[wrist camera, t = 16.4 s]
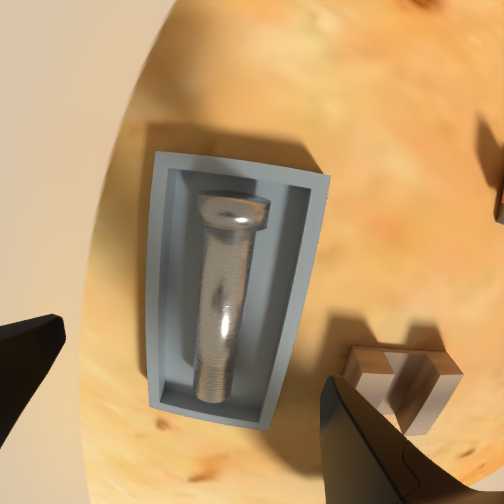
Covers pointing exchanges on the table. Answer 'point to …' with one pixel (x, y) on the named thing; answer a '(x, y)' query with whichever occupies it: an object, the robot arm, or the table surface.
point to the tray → (259, 288)
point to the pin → (223, 285)
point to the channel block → (404, 383)
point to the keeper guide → (501, 209)
